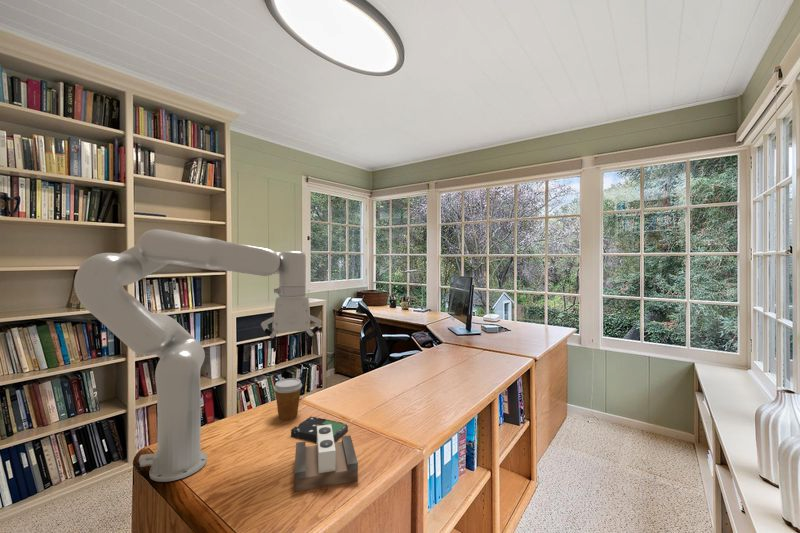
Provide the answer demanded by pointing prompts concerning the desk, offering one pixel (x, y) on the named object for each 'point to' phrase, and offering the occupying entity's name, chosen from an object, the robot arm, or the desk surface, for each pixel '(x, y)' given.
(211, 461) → the desk surface
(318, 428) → the white rectangular block
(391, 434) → the desk surface
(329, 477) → the display stand
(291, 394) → the disposable coffee cup
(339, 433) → the disk drive
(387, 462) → the desk surface
